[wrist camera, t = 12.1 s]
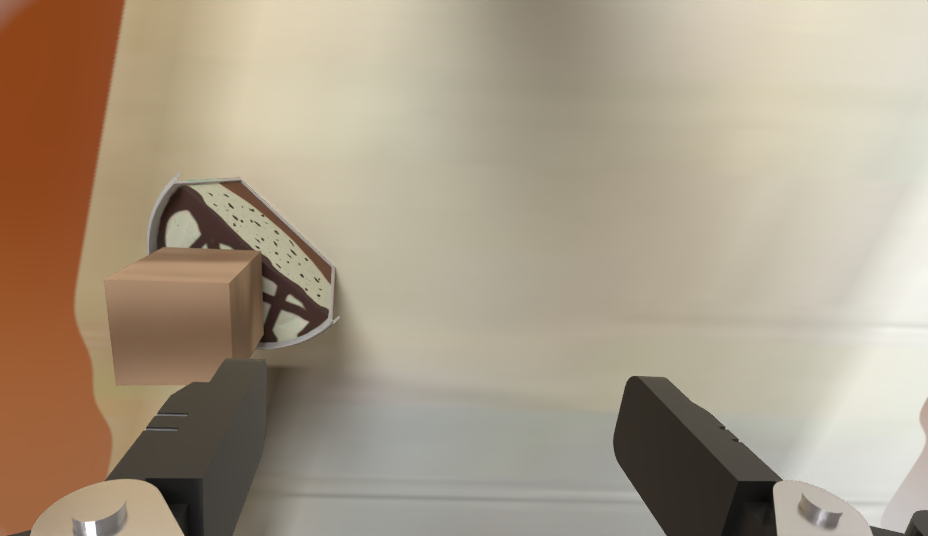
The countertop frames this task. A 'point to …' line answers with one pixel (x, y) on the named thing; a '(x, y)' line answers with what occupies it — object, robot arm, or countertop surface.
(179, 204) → the food container
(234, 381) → the robot arm
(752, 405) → the countertop surface
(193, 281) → the walnut block
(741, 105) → the countertop surface
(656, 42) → the countertop surface
